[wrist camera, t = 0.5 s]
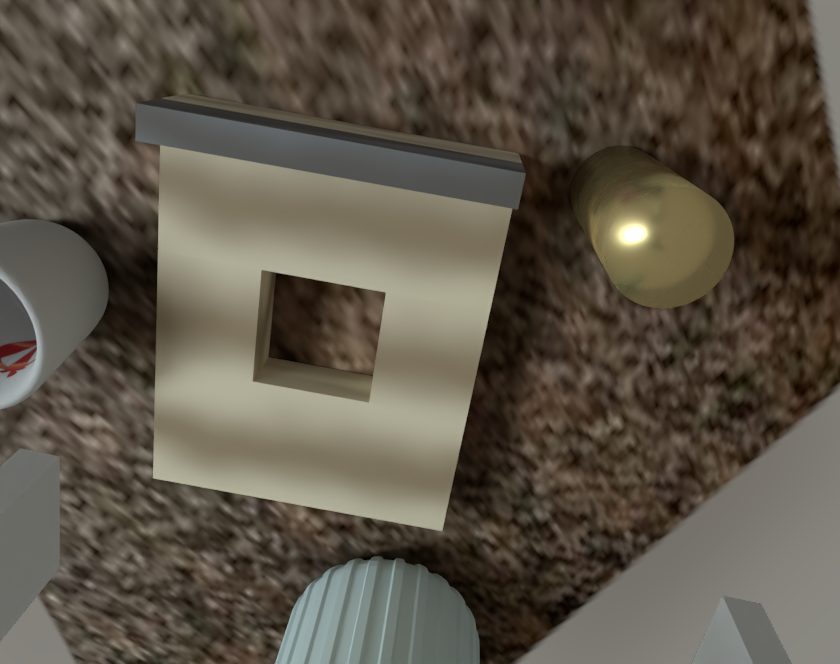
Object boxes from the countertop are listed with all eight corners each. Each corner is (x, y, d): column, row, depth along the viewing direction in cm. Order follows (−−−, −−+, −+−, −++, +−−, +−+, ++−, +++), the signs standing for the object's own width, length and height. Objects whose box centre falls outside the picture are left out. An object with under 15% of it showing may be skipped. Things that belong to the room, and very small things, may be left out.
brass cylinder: (583, 138, 33) (623, 175, 24) (675, 154, 33) (752, 198, 24) (560, 228, 35) (590, 296, 26) (648, 244, 35) (710, 318, 26)
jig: (187, 93, 34) (135, 103, 29) (518, 153, 34) (526, 173, 29) (174, 448, 42) (132, 506, 36) (444, 498, 41) (439, 562, 36)
